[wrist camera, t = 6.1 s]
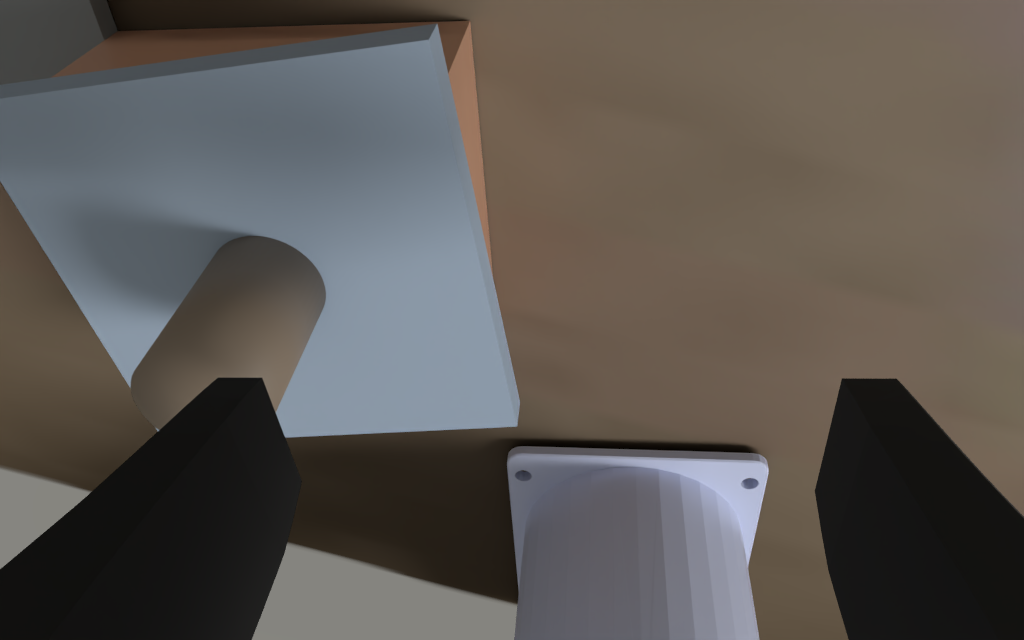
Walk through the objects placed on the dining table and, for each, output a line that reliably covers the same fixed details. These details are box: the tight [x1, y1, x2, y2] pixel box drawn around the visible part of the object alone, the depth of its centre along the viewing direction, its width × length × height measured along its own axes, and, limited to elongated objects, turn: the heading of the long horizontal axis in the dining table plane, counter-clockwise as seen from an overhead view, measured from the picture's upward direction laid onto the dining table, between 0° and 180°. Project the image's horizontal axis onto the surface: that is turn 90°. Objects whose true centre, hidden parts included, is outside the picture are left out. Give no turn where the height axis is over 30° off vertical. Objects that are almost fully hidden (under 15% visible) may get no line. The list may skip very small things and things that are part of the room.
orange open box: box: [51, 21, 493, 276], centre depth 18 cm, size 8×8×4 cm
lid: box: [0, 24, 520, 438], centre depth 15 cm, size 9×9×4 cm
